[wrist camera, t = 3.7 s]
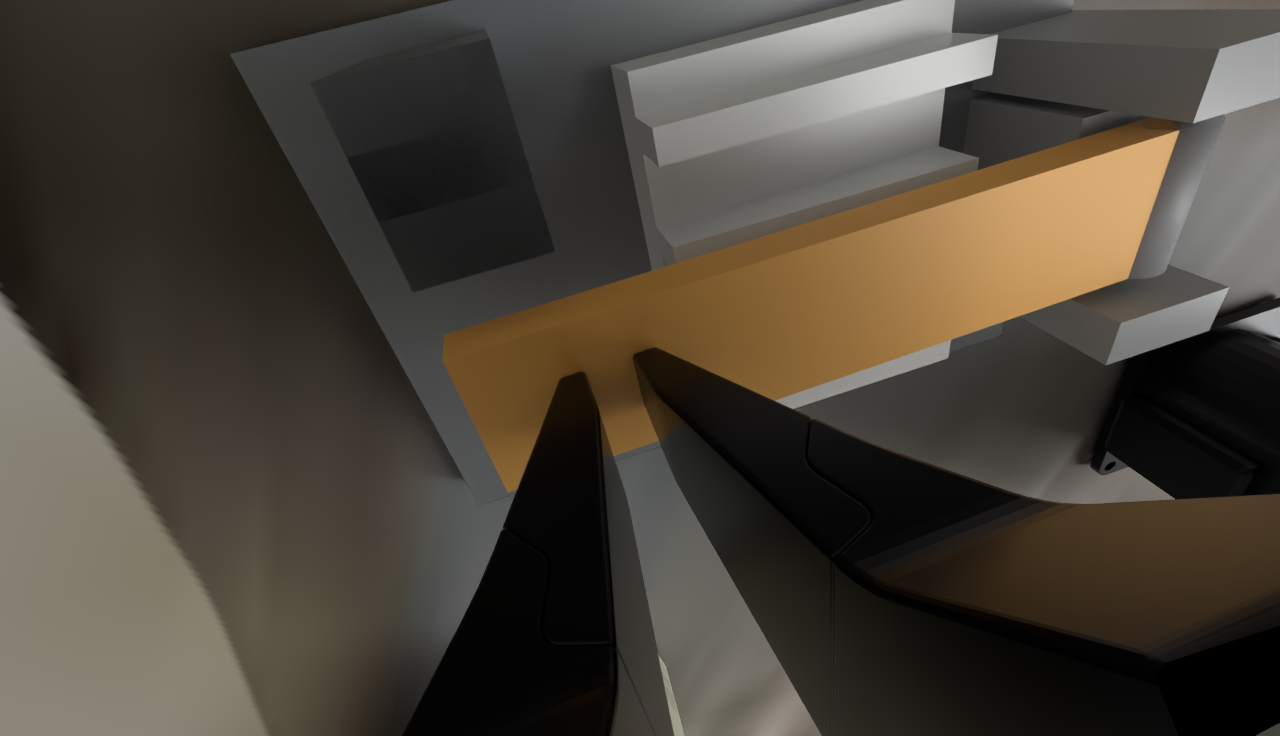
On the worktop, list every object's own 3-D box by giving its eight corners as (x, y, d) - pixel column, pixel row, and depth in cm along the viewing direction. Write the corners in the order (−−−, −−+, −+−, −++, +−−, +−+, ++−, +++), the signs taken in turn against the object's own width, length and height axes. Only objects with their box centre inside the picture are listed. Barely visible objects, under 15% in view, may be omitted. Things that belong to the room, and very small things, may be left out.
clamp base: (1069, -148, 11) (1489, -261, 6) (982, 318, 17) (1162, 428, 13) (250, 50, 10) (43, 84, 5) (478, 480, 16) (479, 668, 11)
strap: (1169, 105, 10) (1245, 115, 9) (1122, 246, 12) (1182, 266, 11) (444, 329, 9) (441, 368, 8) (503, 455, 10) (508, 501, 9)
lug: (485, 28, 10) (489, 39, 6) (528, 168, 12) (554, 251, 8) (378, 54, 10) (310, 83, 6) (435, 193, 12) (413, 292, 7)
